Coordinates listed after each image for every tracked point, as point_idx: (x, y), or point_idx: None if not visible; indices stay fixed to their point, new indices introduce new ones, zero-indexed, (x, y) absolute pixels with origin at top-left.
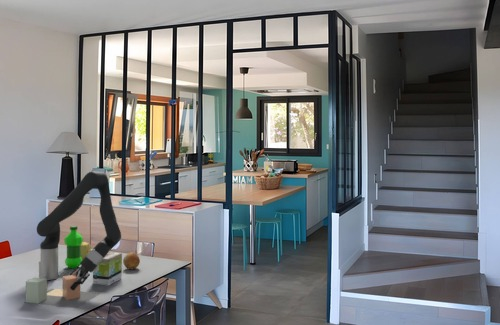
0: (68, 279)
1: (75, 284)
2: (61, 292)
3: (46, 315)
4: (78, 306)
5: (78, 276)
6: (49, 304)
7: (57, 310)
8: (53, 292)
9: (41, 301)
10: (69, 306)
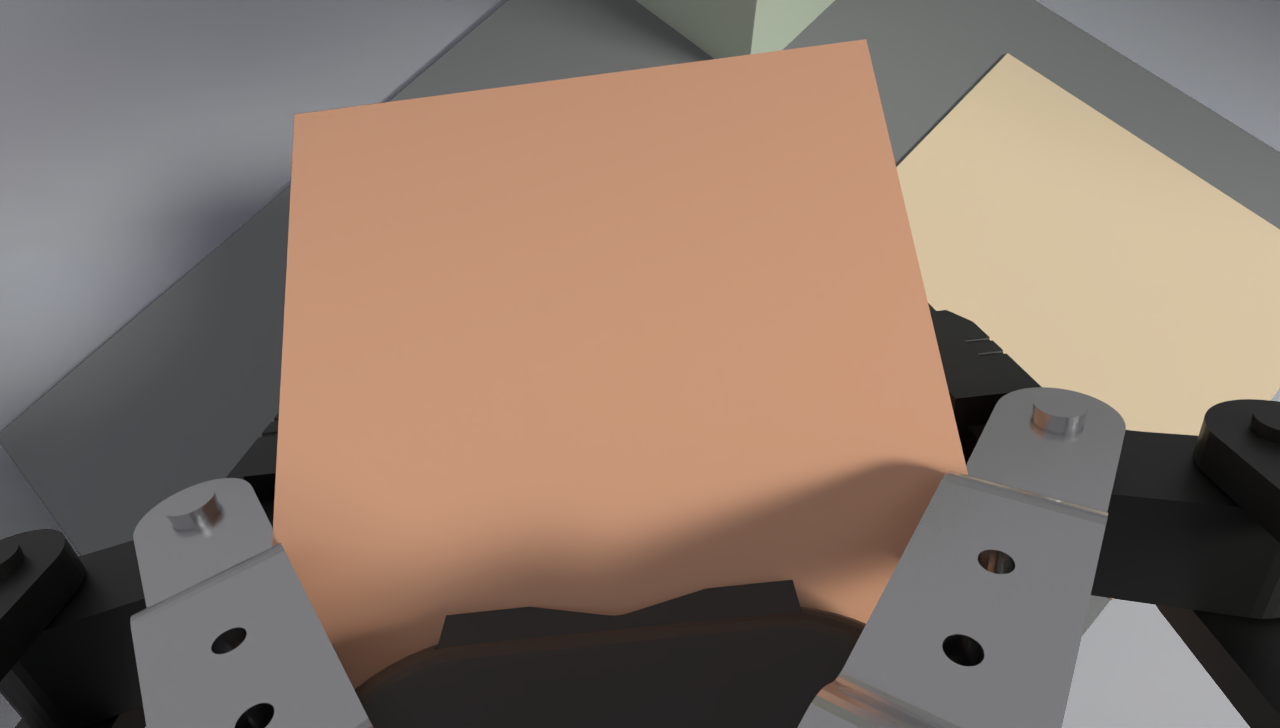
0: (294, 183)
1: (241, 469)
2: (1037, 350)
3: (71, 31)
4: (36, 478)
5: (132, 622)
6: (434, 88)
7: (163, 174)
8: (1094, 216)
9: (639, 2)
10: (139, 341)
